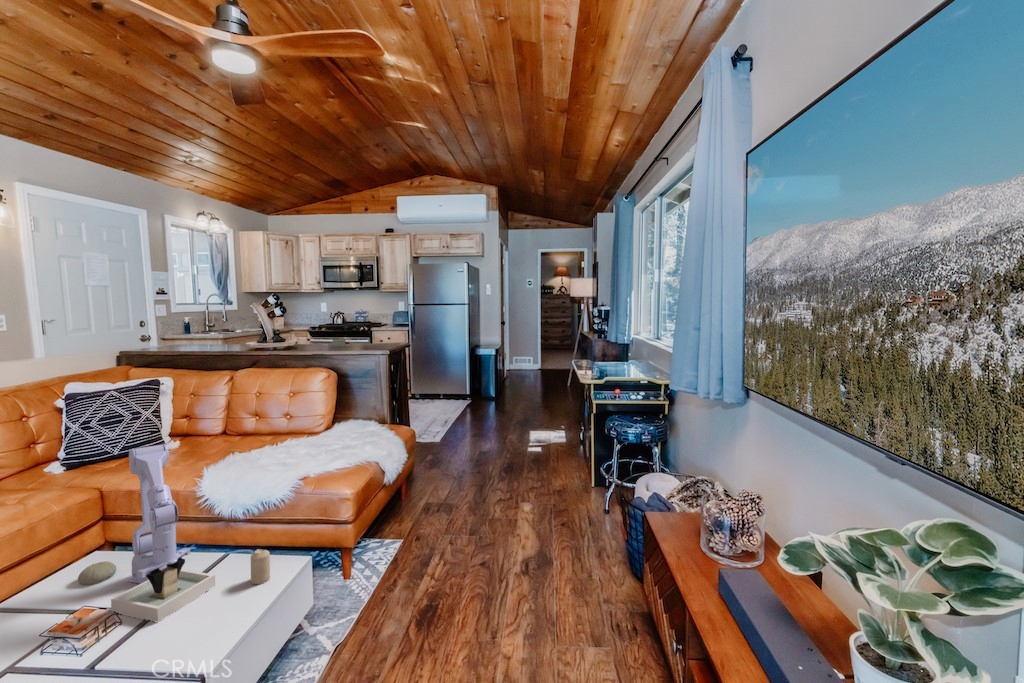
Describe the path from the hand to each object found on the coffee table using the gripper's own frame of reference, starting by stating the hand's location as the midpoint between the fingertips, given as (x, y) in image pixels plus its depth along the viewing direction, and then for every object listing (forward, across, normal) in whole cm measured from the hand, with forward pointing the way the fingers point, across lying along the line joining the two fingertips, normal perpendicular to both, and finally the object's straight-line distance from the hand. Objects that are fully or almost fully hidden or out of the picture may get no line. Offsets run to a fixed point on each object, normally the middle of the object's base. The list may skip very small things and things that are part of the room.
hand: (165, 588), depth 136 cm
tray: (+3, 0, 0) cm, 3 cm away
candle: (+4, +16, -20) cm, 26 cm away
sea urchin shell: (+4, +3, +34) cm, 34 cm away
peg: (+3, 0, 0) cm, 3 cm away
